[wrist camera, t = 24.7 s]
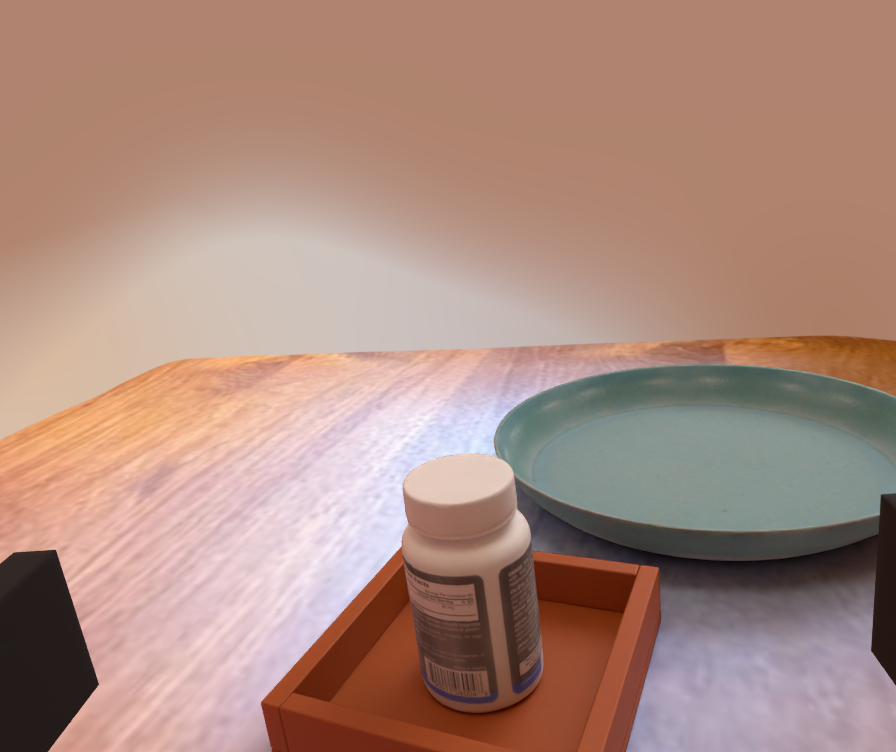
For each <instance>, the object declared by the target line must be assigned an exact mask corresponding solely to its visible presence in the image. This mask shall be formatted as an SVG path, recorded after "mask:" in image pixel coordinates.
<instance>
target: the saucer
mask: <svg viewBox="0 0 896 752" xmlns="http://www.w3.org/2000/svg"><path fill="white" fill-rule="evenodd" d="M494 447H495V451H496V454H497V456H498V458H499V459H502V460H503V461H505V462H506V463H508V464H509V465H510V467H511V468H512V470H513V473H514V478H515V483H516V484H517V485H518V487H519V488H520V489H521V490H522V491H523V492H524V493H525V494H527V495H528V496H529V497H530V498H531V499H532V500H533V501H535V502H536V503H537V504H539V505H540V506H541V507H542V508H544V509H545V510H547V511H548V512H550V513H551V514H553V515H555V516H556V517H558V518H560V519H561V520H563V521H565V522H567V523H569V524H570V525H572V526H574V527H576V528H578V529H580V530H582V531H584V532H587V533H589V534H592V535H594V536H597V537H599V538H602V539H605V540H607V541H610V542H613V543H617V544H620V545H623V546H626V547H630V548H634V549H638V550H643V551H647V552H652V553H657V554H663V555H669V556H674V557H683V558H691V559H702V560H718V561H756V560H770V559H783V558H790V557H797V556H804V555H809V554H813V553H818V552H823V551H828V550H832V549H836V548H839V547H843V546H846V545H849V544H852V543H855V542H858V541H860V540H863V539H866V538H869V537H871V536H874V535H877V534H878V533H879V516H880V500H881V494H893V493H896V396H893V395H891V394H888V393H885V392H883V391H880V390H878V389H874V388H871V387H868V386H864V385H861V384H858V383H854V382H850V381H847V380H843V379H838V378H834V377H829V376H825V375H820V374H814V373H809V372H803V371H796V370H789V369H781V368H773V367H762V366H748V365H727V364H698V365H696V364H687V365H667V366H652V367H643V368H635V369H627V370H621V371H615V372H610V373H604V374H599V375H594V376H590V377H586V378H582V379H578V380H574V381H571V382H568V383H565V384H562V385H559V386H556V387H553V388H550V389H548V390H546V391H543V392H541V393H539V394H537V395H535V396H533V397H531V398H529V399H527V400H525V401H524V402H522V403H521V404H519V405H518V406H516V407H515V408H514V409H513V410H511V411H510V412H509V413H508V414H507V415H506V416H505V417H504V419H503V420H502V421H501V422H500V424H499V425H498V428H497V430H496V433H495V437H494Z"/></svg>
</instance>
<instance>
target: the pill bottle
mask: <svg viewBox="0 0 896 752" xmlns="http://www.w3.org/2000/svg"><path fill="white" fill-rule="evenodd" d="M403 495H404V503H405V512H406V516H407V520H408V523H409V524H408V526H407V527H406V529H405V531H404V534H403V537H402V556H403V562H404V568H405V574H406V580H407V586H408V593H409V598H410V604H411V610H412V615H413V622H414V629H415V634H416V641H417V647H418V653H419V658H420V665H421V671H422V677H423V680H424V683H425V685H426V687H427V689H428V691H429V692H430V693H431V695H432V696H433V697H434V698H435V699H436V700H437V701H439V702H440V703H441V704H443V705H445V706H447V707H450V708H452V709H455V710H458V711H462V712H469V713H484V712H491V711H496V710H499V709H502V708H505V707H508V706H511V705H513V704H515V703H517V702H519V701H520V700H522V699H524V698H525V697H527V696H528V695H529V694H530V693H531V692H532V691H533V690H534V689H535V688H536V686H537V685H538V683H539V681H540V678H541V675H542V672H543V649H542V639H541V629H540V619H539V607H538V600H537V589H536V580H535V572H534V561H533V550H532V538H531V533H530V528H529V525H528V523H527V521H526V519H525V517H524V516H523V515H522V514H521V513H520V512H519V511H518V510H517V494H516V487H515V478H514V473H513V470H512V468H511V467H510V465H509V464H508V463H506V462H505V461H503V460H502V459H499V458H496V457H493V456H489V455H483V454H458V455H450V456H445V457H441V458H437V459H434V460H431V461H428V462H426V463H424V464H422V465H420V466H418V467H417V468H415V469H414V470H412V471H411V472H410V473H409V474H408V475H407V476H406V478H405V480H404V483H403Z"/></svg>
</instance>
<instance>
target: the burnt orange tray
mask: <svg viewBox="0 0 896 752" xmlns="http://www.w3.org/2000/svg"><path fill="white" fill-rule="evenodd" d="M533 561H534V572H535V580H536V589H537V600H538V607H539V619H540V629H541V639H542V649H543V672H542V675H541V678H540V681H539V683H538V685H537V686H536V688H535V689H534V690H533V691H532V692H531V693H530V694H529V695H528V696H527V697H525V698H524V699H522V700H520V701H519V702H517V703H515V704H513V705H511V706H508V707H505V708H502V709H499V710H496V711H491V712H484V713H469V712H462V711H458V710H455V709H452V708H450V707H447V706H445V705H443V704H441V703H440V702H439V701H437V700H436V699H435V698H434V697H433V696H432V695H431V693H430V692H429V691H428V689H427V687H426V685H425V683H424V680H423V677H422V671H421V665H420V658H419V653H418V647H417V641H416V634H415V629H414V622H413V615H412V610H411V604H410V598H409V593H408V586H407V580H406V574H405V568H404V562H403V556H402V547H401V548H400V549H399V550H398V551H397V552H396V553H395V554H394V556H393V557H392V558H391V559H390V560H389V561H388V562H387V563H386V564H385V566H384V567H383V568H382V569H381V570H380V571H379V572H378V573H377V574H376V576H375V577H374V578H373V579H372V580H371V581H370V582H369V583H368V584H367V586H366V587H365V588H364V589H363V590H362V591H361V592H360V593H359V594H358V596H357V597H356V598H355V599H354V600H353V601H352V602H351V603H350V604H349V605H348V607H347V608H346V609H345V610H344V611H343V612H342V613H341V614H340V615H339V617H338V618H337V619H336V620H335V621H334V622H333V623H332V624H331V625H330V627H329V628H328V629H327V630H326V631H325V632H324V633H323V634H322V635H321V637H320V638H319V639H318V640H317V641H316V642H315V643H314V644H313V645H312V647H311V648H310V649H309V650H308V651H307V652H306V653H305V654H304V655H303V656H302V658H301V659H300V660H299V661H298V662H297V663H296V664H295V665H294V666H293V668H292V669H291V670H290V671H289V672H288V673H287V674H286V675H285V676H284V678H283V679H282V680H281V681H280V682H279V683H278V684H277V685H276V686H275V688H274V689H273V690H272V691H271V692H270V693H269V694H268V695H267V696H266V698H265V699H264V700H263V701H262V702H261V706H262V710H263V714H264V719H265V723H266V727H267V731H268V736H269V740H270V744H271V747H272V752H626V748H627V745H628V741H629V737H630V733H631V730H632V726H633V722H634V718H635V715H636V711H637V707H638V704H639V700H640V696H641V692H642V689H643V685H644V681H645V677H646V674H647V670H648V666H649V663H650V659H651V655H652V651H653V648H654V644H655V640H656V636H657V633H658V629H659V625H660V622H661V610H660V608H661V604H660V574H659V568H658V567H652V566H645V565H641V566H640V567H639V565H637V564H629V563H622V562H614V561H607V560H599V559H592V558H584V557H577V556H569V555H562V554H554V553H547V552H539V551H533Z"/></svg>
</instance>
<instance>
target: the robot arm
mask: <svg viewBox="0 0 896 752" xmlns="http://www.w3.org/2000/svg"><path fill="white" fill-rule="evenodd" d="M871 651H872V652H873V654H874V655H875V657H876V658H877V660H878V661H879V662H880V664H881V665H882V667H883V668H884V669H885V671H886V672H887V674H888V675H889V677H890V678H891V679H892V681H893V682H894V684H895V685H896V493H893V494H881V500H880V516H879V533H878V549H877V565H876V581H875V597H874V614H873V630H872V646H871ZM98 685H99V683H98V680H97V677H96V674H95V671H94V668H93V664H92V661H91V658H90V655H89V652H88V649H87V646H86V643H85V639H84V636H83V633H82V630H81V627H80V624H79V621H78V618H77V615H76V611H75V608H74V605H73V602H72V599H71V596H70V593H69V590H68V586H67V583H66V580H65V577H64V574H63V571H62V568H61V565H60V562H59V558H58V555H57V552H56V550H46V551H31V552H16V553H13V554H12V555H10V556H9V557H8V558H7V559H6V560H4V561H3V562H2V563H1V564H0V752H48V751H49V749H50V748H51V747H52V745H53V744H54V743H55V741H56V740H57V739H58V738H59V736H60V735H61V734H62V732H63V731H64V730H65V728H66V727H67V726H68V724H69V723H70V722H71V720H72V719H73V718H74V716H75V715H76V714H77V713H78V711H79V710H80V709H81V707H82V706H83V705H84V703H85V702H86V701H87V699H88V698H89V697H90V695H91V694H92V693H93V691H94V690H95V689H96V688H97V686H98Z"/></svg>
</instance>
